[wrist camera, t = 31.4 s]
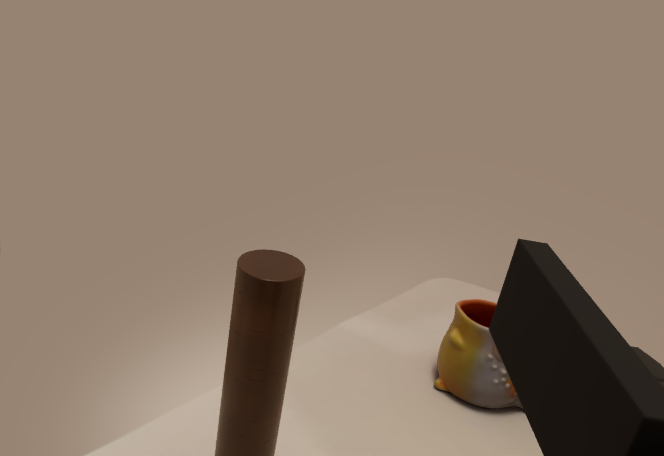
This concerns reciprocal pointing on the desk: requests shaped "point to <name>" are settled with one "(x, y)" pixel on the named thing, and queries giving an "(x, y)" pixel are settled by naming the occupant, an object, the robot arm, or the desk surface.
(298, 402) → the desk surface
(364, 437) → the desk surface
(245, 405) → the brown cylinder rod
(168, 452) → the desk surface
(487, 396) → the mug
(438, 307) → the desk surface
